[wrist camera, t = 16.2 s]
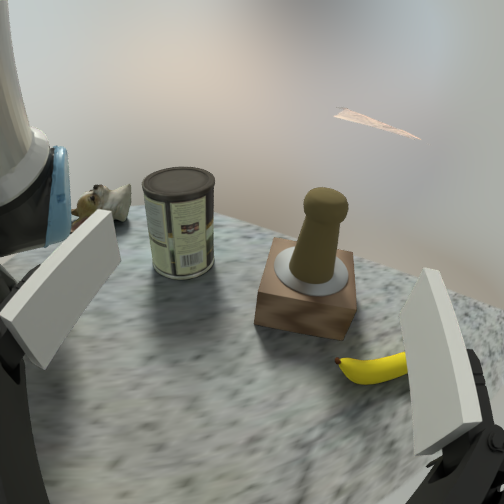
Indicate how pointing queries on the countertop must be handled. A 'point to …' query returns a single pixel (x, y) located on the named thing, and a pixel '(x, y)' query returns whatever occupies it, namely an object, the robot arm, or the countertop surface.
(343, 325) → the walnut plinth
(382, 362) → the banana
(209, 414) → the countertop surface
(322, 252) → the cork
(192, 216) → the coffee can
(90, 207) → the ceramic sculpture
